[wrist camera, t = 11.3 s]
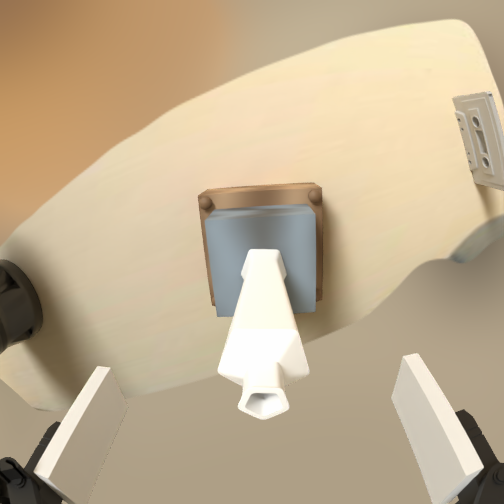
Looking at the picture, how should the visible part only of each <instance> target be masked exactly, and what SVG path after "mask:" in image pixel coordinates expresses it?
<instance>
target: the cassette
mask: <svg viewBox="0 0 504 504" xmlns="http://www.w3.org/2000/svg"><path fill="white" fill-rule="evenodd" d="M453 102H454V105H455V108H456V111H455V114H456V118H457V121H458V124H459V128H460V131H461V135H462V138H463V142H464V146H465V150H466V154H467V159H468V163H469V168H470V171H472V173H473V178H474V182H475V183H476V184H480V185H484V186H488V187H492V188H496V189H499V190H503V191H504V135H503V131H502V127H501V123H500V119H499V116H498V112H497V109H496V105H495V102H494V99H493V96H492V93H491V92H490V91H487V92H481V93H476V94H470V95H465V96H464V95H462V96H457V97H454V98H453Z"/></svg>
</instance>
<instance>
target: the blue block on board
mask: <svg viewBox="0 0 504 504" xmlns="http://www.w3.org/2000/svg"><path fill="white" fill-rule="evenodd" d="M198 202H199V211H200V219H201V228H202V236H203V244H204V252H205V259H206V267H207V274H208V281H209V288H210V295H211V302H212V306H216V312H217V317H232V316H234V313H235V309H236V306H237V303H238V299H239V296H240V292H241V289H242V286H243V282H244V279H243V278H242V276H241V271H242V269H243V266H244V263H245V260H246V257H247V254H248V251H249V250H250V249H276V250H279V251H280V253H281V257H282V260H283V263H284V267H285V270H286V274H287V275H286V277H285V279H284V284H285V287H286V290H287V294H288V297H289V301H290V304H291V307H292V311H293V314H294V313H308V312H315V311H316V302H317V301H319V300H322V278H323V219H322V188H321V187H320V186H318V185H316V184H315V183H293V184H274V185H258V186H243V187H231V188H219V189H208V190H206V191H204V192H203V193H201V194H200V195H198Z"/></svg>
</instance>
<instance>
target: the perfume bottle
mask: <svg viewBox="0 0 504 504" xmlns="http://www.w3.org/2000/svg"><path fill="white" fill-rule="evenodd" d="M286 275H287V274H286V270H285V267H284V263H283V260H282V257H281V253H280V251H279V250H276V249H250V250H249V251H248V254H247V257H246V260H245V263H244V266H243V269H242V271H241V276H242V278H243V279H244V282H243V286H242V289H241V292H240V296H239V299H238V303H237V306H236V309H235V313H234V316H233V320H232V323H231V326H230V330H229V333H228V337H227V340H226V343H225V347H224V350H223V353H222V357H221V360H220V364H219V367H218V373H219V374H220V375H222V376H224V377H226V378H228V379H229V380H231V381H233V382H235V383H237V384H239V385H241V386H242V387H243V393H242V398H241V400H240V402H239V404H238V408H239V409H240V410H241V411H243V412H246V413H247V414H250V415H252V416H254V417H256V418H258V419H262V420H264V419H268V418H271V417H273V416H276V415H278V414H280V413H283V412H285V411H287V410H288V409H289V403H288V400H287V398H286V395H285V386H287V385H289V384H291V383H293V382H295V381H297V380H299V379H301V378H303V377H305V376H307V375H308V374H309V372H310V371H309V367H308V364H307V360H306V356H305V353H304V349H303V346H302V342H301V339H300V335H299V332H298V328H297V325H296V321H295V318H294V314H293V311H292V307H291V304H290V301H289V297H288V294H287V290H286V287H285V284H284V279H285V277H286Z"/></svg>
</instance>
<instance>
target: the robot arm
mask: <svg viewBox="0 0 504 504" xmlns="http://www.w3.org/2000/svg"><path fill="white" fill-rule="evenodd" d="M41 325H42V310H41V306H40V302H39V299H38V297H37V294H36V292H35V290H34V288H33V286H32V284H31V283H30V281H29V280H28V278H27V277H26V275H25V274H24V273H23V272H22V271H21V270H20V269H19V268H18V267H17V266H16V265H15V264H13V263H12V262H10V261H7V260H0V354H1V353H2V352H3V351H4V350H5V349H6V348H8V347H10V346H13V345H16V344H18V343H21V342H24V341H27V340H29V339H31V338H32V337H33V336H34V335H35V334H36V333H37V332H38V331H39V330H40V328H41ZM391 399H392V402H393V404H394V406H395V409H396V411H397V413H398V416H399V418H400V420H401V423H402V425H403V427H404V430H405V432H406V435H407V437H408V440H409V442H410V445H411V447H412V449H413V452H414V455H415V457H416V460H417V462H418V465H419V468H420V470H421V473H422V476H423V478H424V481H425V484H426V486H427V489H428V492H429V495H430V498H431V501H432V504H446V503H448V502H451V501H452V500H453V499H454V498H455V497H456V496H458V498H459V501H458V502H457V503H456V504H504V463H500V462H499V461H498V460H497V458H496V456H495V454H494V453H493V451H492V449H491V447H490V446H489V444H488V442H487V440H486V438H485V437H484V435H482V431H481V430H480V428H479V427H478V425H477V423H476V421H475V420H474V418H473V416H471V415H470V414H469V413H468V412H466V411H465V410H461V411H458V412H455V413H454V411H453V409H452V407H451V406H450V404H449V402H448V401H447V399H446V397H445V396H444V394H443V392H442V391H441V389H440V387H439V386H438V384H437V383H436V381H435V379H434V378H433V376H432V375H431V373H430V371H429V370H428V368H427V367H426V365H425V364H424V362H423V361H422V359H421V358H420V356H419V354H418V353H417V354H412V355H406V356H403V358H402V362H401V367H400V370H399V374H398V377H397V380H396V384H395V387H394V391H393V394H392V397H391ZM127 409H128V405H127V403H126V401H125V399H124V397H123V395H122V392H121V390H120V388H119V386H118V384H117V381H116V379H115V377H114V374H113V372H112V370H111V368H110V367H101V366H97V368H96V369H95V371H94V372H93V374H92V375H91V377H90V378H89V380H88V381H87V383H86V384H85V386H84V387H83V389H82V391H81V392H80V394H79V395H78V397H77V398H76V400H75V402H74V403H73V405H72V406H71V408H70V410H69V411H68V413H67V415H66V416H65V418H64V419H63V421H62V423H60V422H55V423H54V424H53V425H51V426H50V427H49V428H48V429H47V431H46V433H45V434H44V436H43V438H42V439H41V441H40V443H39V445H38V446H37V448H36V449H35V451H34V453H33V455H32V456H31V458H30V460H29V461H28V463H27V465H26V466H25V468H24V469H23V468H22V467H21V466H20V465H19V464H18V463H17V461H16V460H15V459H13V458H11V457H5V458H3V459H1V460H0V504H61V502H62V500H64V501H66V502H67V503H68V504H88V501H89V498H90V496H91V493H92V491H93V488H94V486H95V484H96V481H97V478H98V476H99V474H100V471H101V469H102V466H103V464H104V462H105V459H106V457H107V455H108V452H109V450H110V448H111V445H112V443H113V441H114V439H115V436H116V434H117V432H118V429H119V427H120V425H121V423H122V421H123V418H124V416H125V414H126V412H127Z"/></svg>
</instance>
